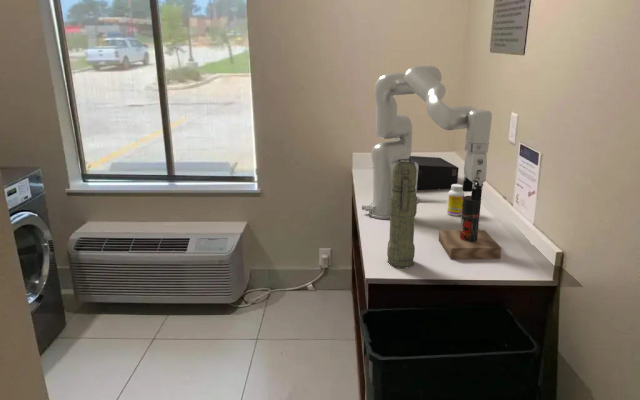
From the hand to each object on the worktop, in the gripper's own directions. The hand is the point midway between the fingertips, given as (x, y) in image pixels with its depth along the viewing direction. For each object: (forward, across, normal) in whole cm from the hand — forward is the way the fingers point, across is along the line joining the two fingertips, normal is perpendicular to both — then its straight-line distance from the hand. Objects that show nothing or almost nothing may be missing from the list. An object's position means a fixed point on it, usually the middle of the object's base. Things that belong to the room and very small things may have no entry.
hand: (471, 195), depth 169 cm
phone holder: (+22, +60, +14) cm, 65 cm away
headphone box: (+22, +88, 0) cm, 91 cm away
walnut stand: (+20, -1, 0) cm, 20 cm away
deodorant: (+16, -1, 0) cm, 16 cm away
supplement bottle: (+21, +38, -7) cm, 44 cm away
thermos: (+20, -12, +26) cm, 35 cm away
